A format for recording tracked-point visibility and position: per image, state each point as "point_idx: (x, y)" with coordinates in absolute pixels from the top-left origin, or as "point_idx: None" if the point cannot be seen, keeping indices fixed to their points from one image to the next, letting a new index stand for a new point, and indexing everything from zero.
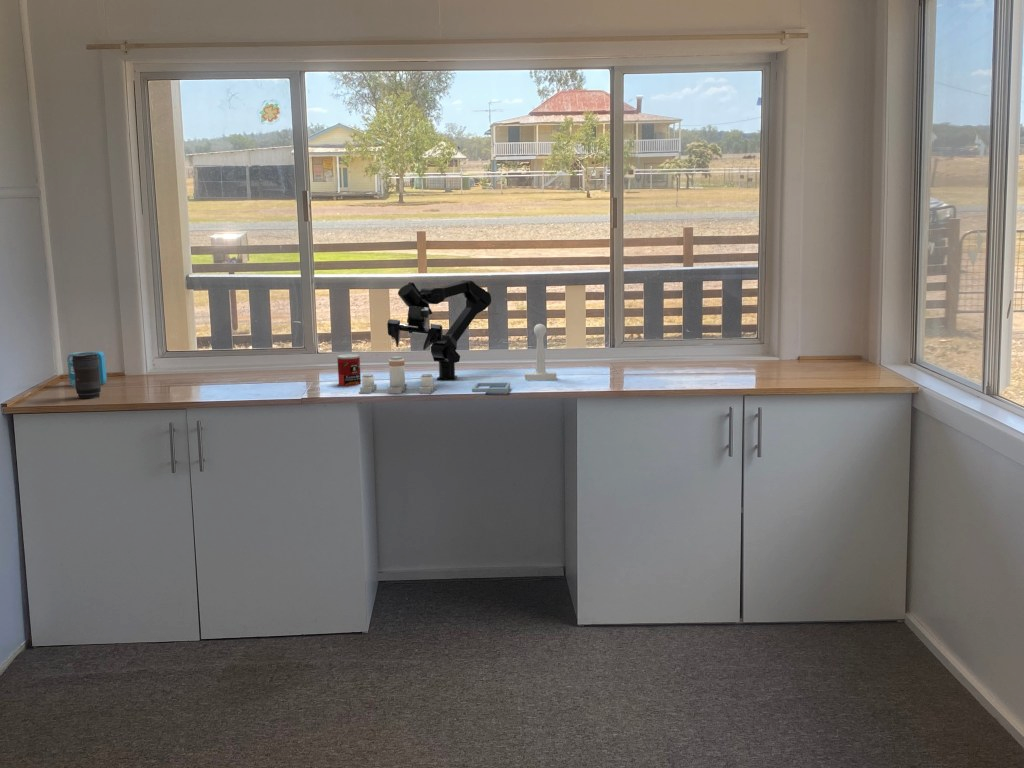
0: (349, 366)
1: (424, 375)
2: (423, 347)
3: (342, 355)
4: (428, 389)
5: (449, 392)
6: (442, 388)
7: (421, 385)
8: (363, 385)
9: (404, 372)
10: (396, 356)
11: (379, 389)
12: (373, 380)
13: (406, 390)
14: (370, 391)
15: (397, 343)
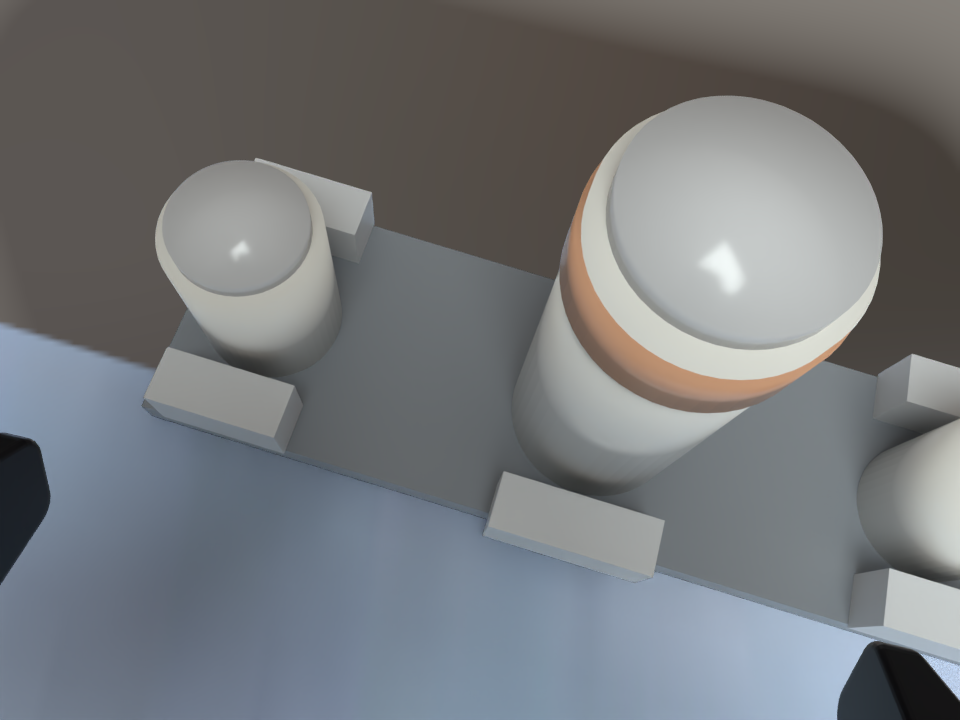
0: None
1: (275, 185)
2: (24, 442)
3: None
4: None
5: (20, 361)
6: (17, 662)
7: (333, 265)
8: None
9: (547, 303)
10: (751, 247)
11: (811, 588)
12: (937, 448)
13: (497, 425)
14: (892, 369)
15: (899, 669)
